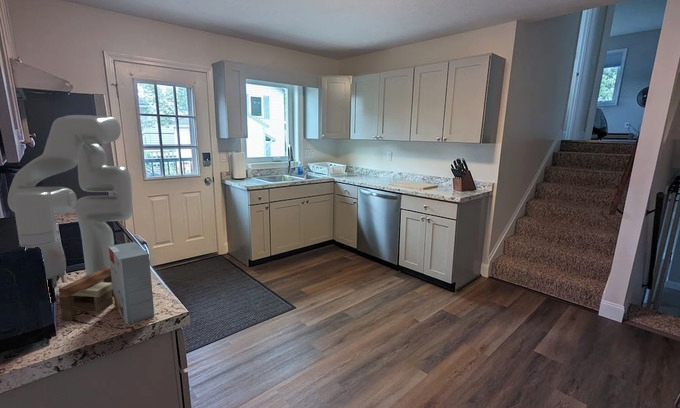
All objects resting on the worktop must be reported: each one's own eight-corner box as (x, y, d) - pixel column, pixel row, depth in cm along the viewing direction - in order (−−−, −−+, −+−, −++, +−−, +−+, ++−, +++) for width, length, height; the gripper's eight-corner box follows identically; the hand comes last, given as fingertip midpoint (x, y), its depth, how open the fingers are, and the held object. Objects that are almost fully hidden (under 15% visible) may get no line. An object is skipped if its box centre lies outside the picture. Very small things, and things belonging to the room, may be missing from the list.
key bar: (107, 273, 112) (106, 266, 112) (113, 274, 112) (112, 266, 112) (59, 297, 95) (58, 288, 95) (66, 297, 95) (65, 289, 95)
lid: (81, 286, 108) (80, 280, 107) (113, 288, 107) (112, 282, 106) (64, 295, 102) (63, 288, 101) (98, 297, 101) (97, 290, 100)
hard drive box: (113, 306, 106) (107, 245, 102) (141, 298, 111) (135, 241, 107) (126, 325, 95) (119, 258, 91) (155, 316, 100) (150, 252, 96)
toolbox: (99, 293, 114) (96, 273, 113) (125, 295, 113) (123, 275, 112) (51, 319, 97) (48, 296, 96) (82, 321, 96) (79, 298, 95)
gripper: (52, 230, 95) (60, 290, 98) (-6, 245, 80) (6, 316, 84) (76, 231, 94) (84, 292, 98) (22, 247, 80) (33, 318, 83)
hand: (48, 303), depth 91 cm, fingers closed
